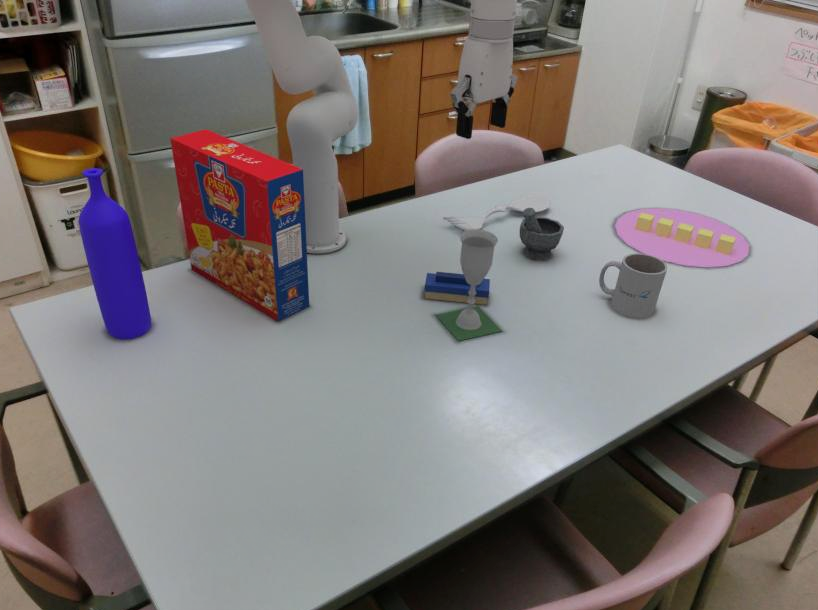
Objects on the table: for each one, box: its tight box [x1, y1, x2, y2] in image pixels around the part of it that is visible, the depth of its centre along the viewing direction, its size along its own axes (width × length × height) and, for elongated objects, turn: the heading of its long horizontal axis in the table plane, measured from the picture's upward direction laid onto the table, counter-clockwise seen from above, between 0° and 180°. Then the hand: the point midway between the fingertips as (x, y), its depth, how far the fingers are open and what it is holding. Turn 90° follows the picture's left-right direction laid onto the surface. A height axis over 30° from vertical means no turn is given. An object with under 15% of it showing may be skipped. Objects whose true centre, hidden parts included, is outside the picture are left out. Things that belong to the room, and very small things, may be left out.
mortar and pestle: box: [519, 208, 565, 261], centre depth 155 cm, size 11×9×12 cm
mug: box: [598, 252, 668, 319], centre depth 139 cm, size 12×9×10 cm
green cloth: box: [435, 305, 503, 342], centre depth 134 cm, size 10×10×1 cm
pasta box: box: [169, 128, 310, 323], centre depth 132 cm, size 28×8×28 cm, turn 49°
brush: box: [424, 271, 491, 306], centre depth 140 cm, size 13×5×5 cm, turn 83°
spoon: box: [442, 193, 552, 232], centre depth 171 cm, size 9×32×4 cm, turn 128°
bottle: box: [78, 167, 152, 340], centre depth 118 cm, size 8×8×30 cm
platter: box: [614, 207, 750, 269], centre depth 168 cm, size 32×32×3 cm
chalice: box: [456, 229, 499, 330], centre depth 128 cm, size 7×7×18 cm
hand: (480, 131), depth 126 cm, fingers open, 9 cm apart
